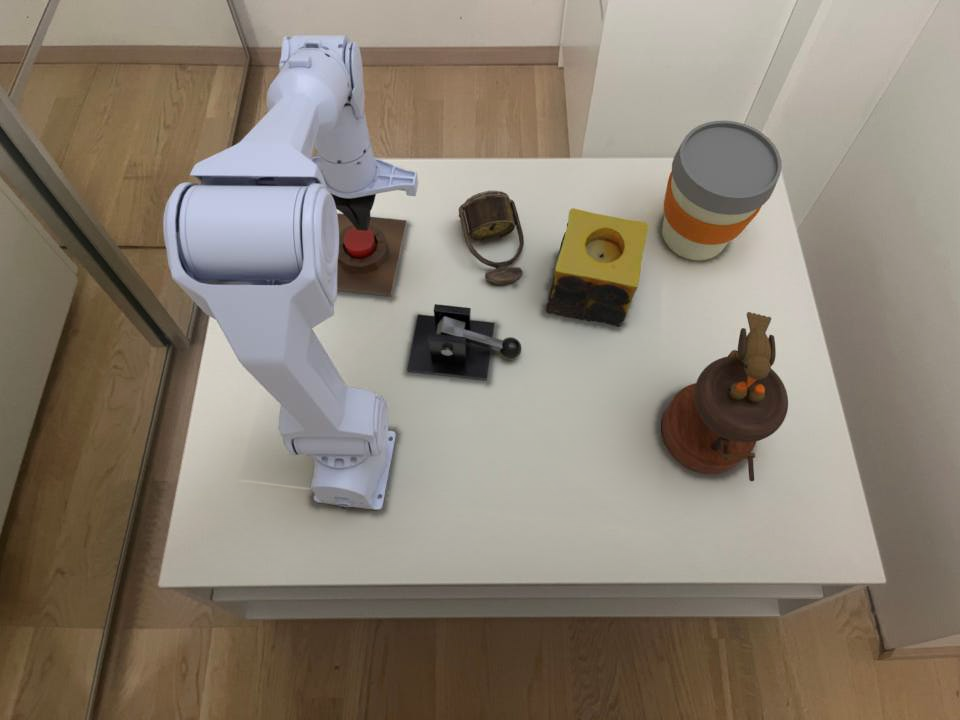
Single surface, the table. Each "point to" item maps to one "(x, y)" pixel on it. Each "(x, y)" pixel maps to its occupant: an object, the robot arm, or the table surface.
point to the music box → (728, 406)
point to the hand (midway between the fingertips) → (363, 223)
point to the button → (359, 243)
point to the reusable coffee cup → (717, 187)
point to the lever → (480, 338)
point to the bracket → (449, 346)
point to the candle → (597, 267)
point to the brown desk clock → (492, 229)
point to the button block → (371, 258)
